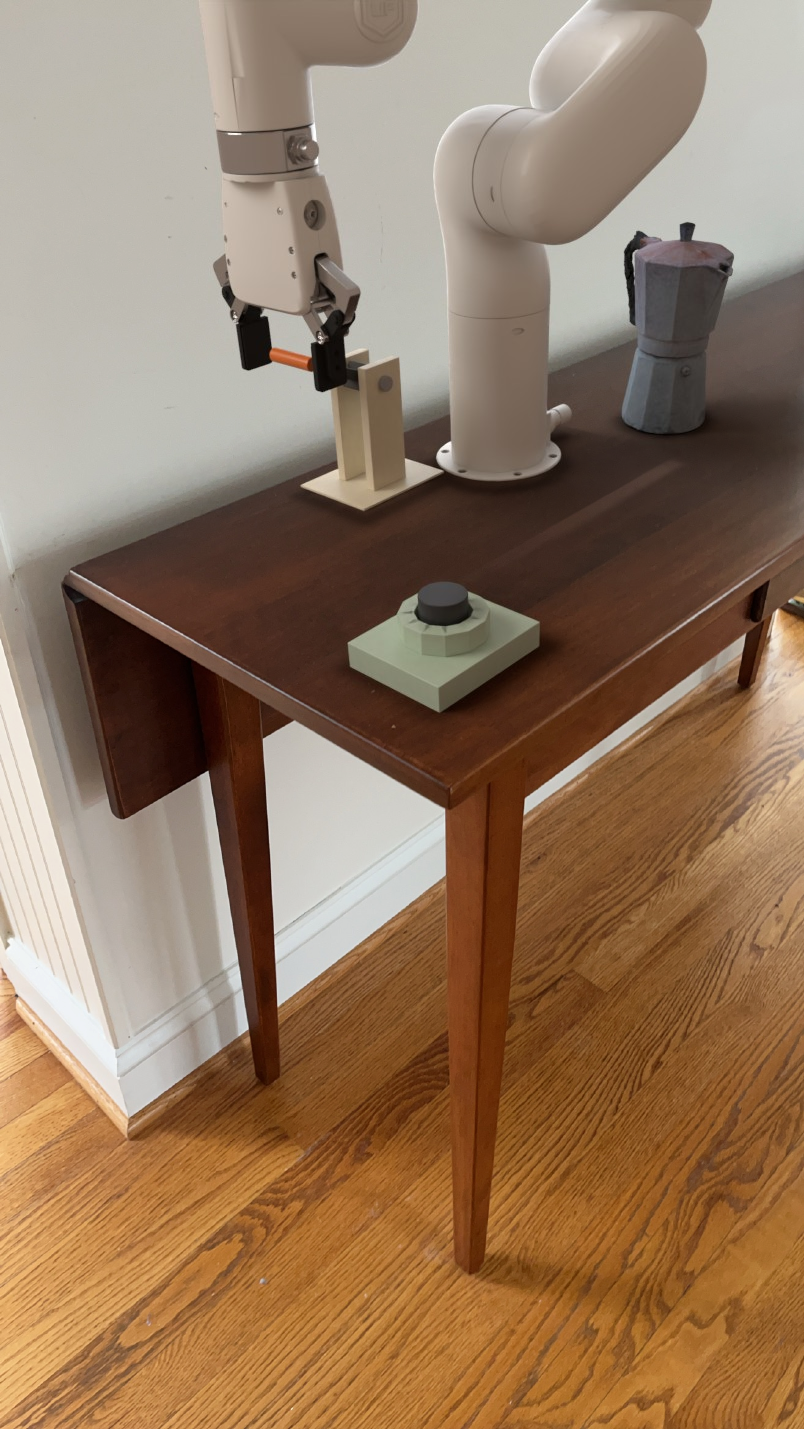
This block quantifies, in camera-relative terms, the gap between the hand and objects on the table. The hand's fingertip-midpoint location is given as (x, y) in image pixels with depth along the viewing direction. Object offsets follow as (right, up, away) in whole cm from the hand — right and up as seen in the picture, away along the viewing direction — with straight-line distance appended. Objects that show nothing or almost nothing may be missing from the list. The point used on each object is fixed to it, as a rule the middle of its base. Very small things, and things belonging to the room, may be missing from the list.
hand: (293, 376), depth 89 cm
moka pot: (+37, +3, +23) cm, 44 cm away
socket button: (+12, -22, -15) cm, 29 cm away
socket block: (+13, -25, -13) cm, 31 cm away
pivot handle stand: (+7, -7, +13) cm, 16 cm away
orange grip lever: (+3, 0, +3) cm, 4 cm away
